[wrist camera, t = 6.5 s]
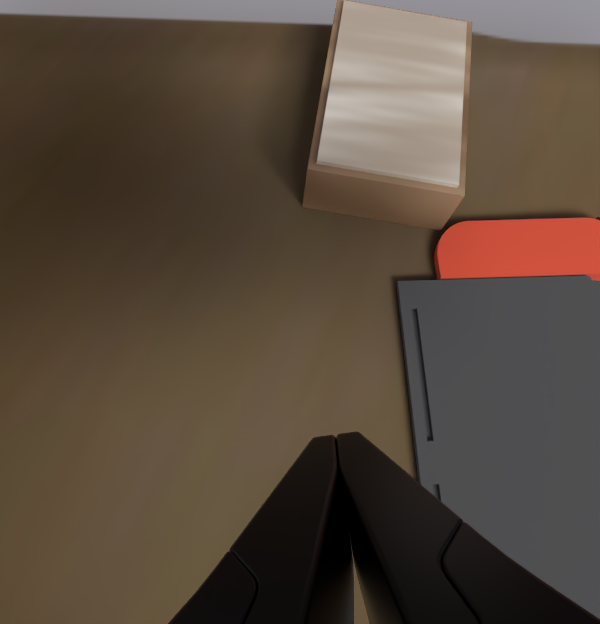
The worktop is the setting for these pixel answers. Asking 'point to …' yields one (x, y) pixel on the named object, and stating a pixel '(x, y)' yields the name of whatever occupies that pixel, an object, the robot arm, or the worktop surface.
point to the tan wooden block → (392, 117)
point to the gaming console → (513, 390)
